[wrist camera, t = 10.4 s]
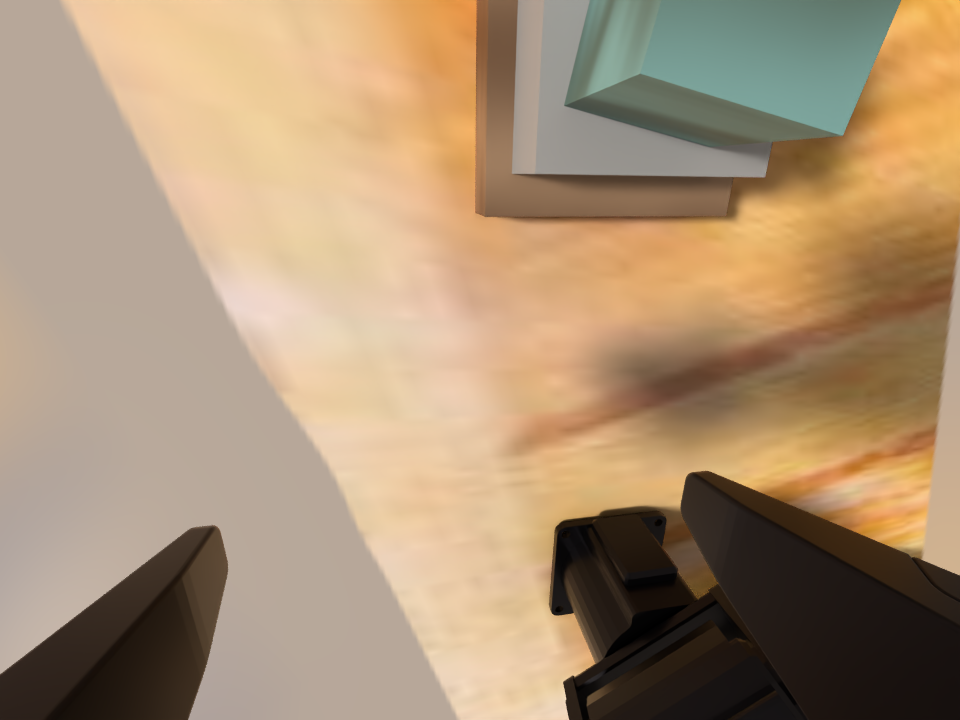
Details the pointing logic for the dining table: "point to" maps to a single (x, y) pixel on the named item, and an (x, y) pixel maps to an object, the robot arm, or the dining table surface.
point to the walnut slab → (549, 191)
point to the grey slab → (588, 137)
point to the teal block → (728, 66)
